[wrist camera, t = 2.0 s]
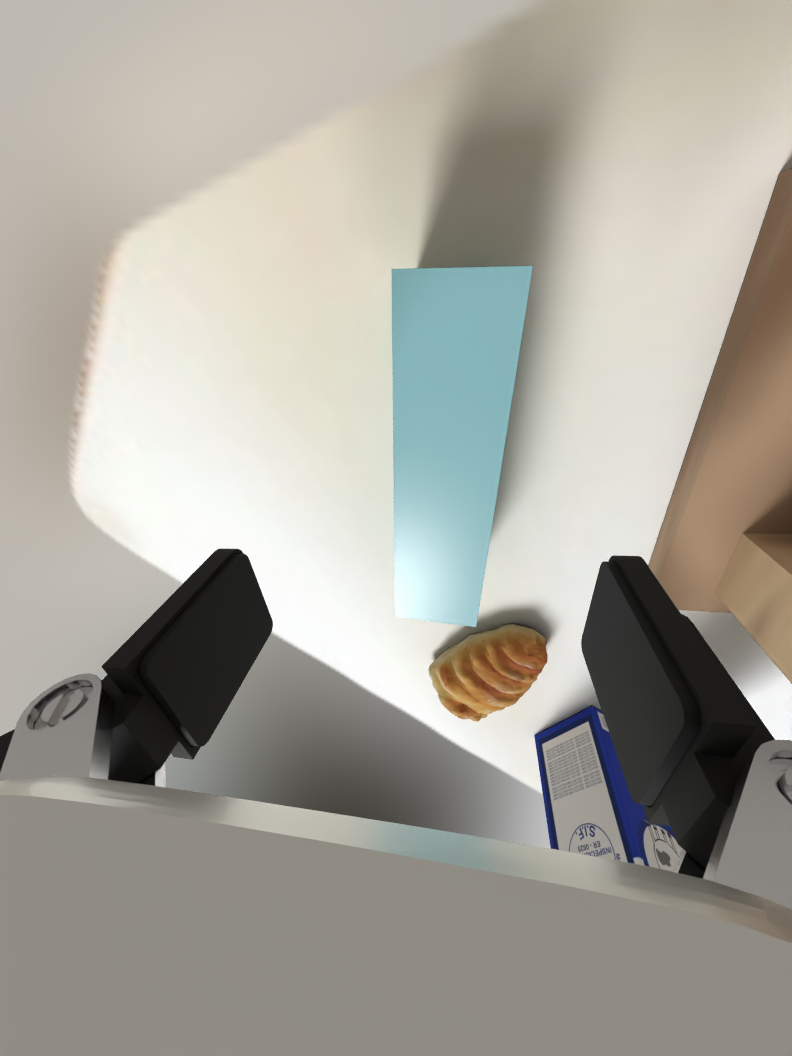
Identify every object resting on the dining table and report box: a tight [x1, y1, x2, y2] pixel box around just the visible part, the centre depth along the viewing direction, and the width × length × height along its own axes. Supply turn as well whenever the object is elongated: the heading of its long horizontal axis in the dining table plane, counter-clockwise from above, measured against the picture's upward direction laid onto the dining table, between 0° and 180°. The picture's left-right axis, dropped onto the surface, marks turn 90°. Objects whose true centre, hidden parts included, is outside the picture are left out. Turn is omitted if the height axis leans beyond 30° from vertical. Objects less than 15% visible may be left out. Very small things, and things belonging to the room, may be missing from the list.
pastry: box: [429, 624, 547, 721], centre depth 28 cm, size 9×7×4 cm
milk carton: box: [534, 706, 682, 872], centre depth 24 cm, size 7×7×20 cm
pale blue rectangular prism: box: [392, 266, 533, 627], centre depth 18 cm, size 4×16×6 cm, turn 0°
